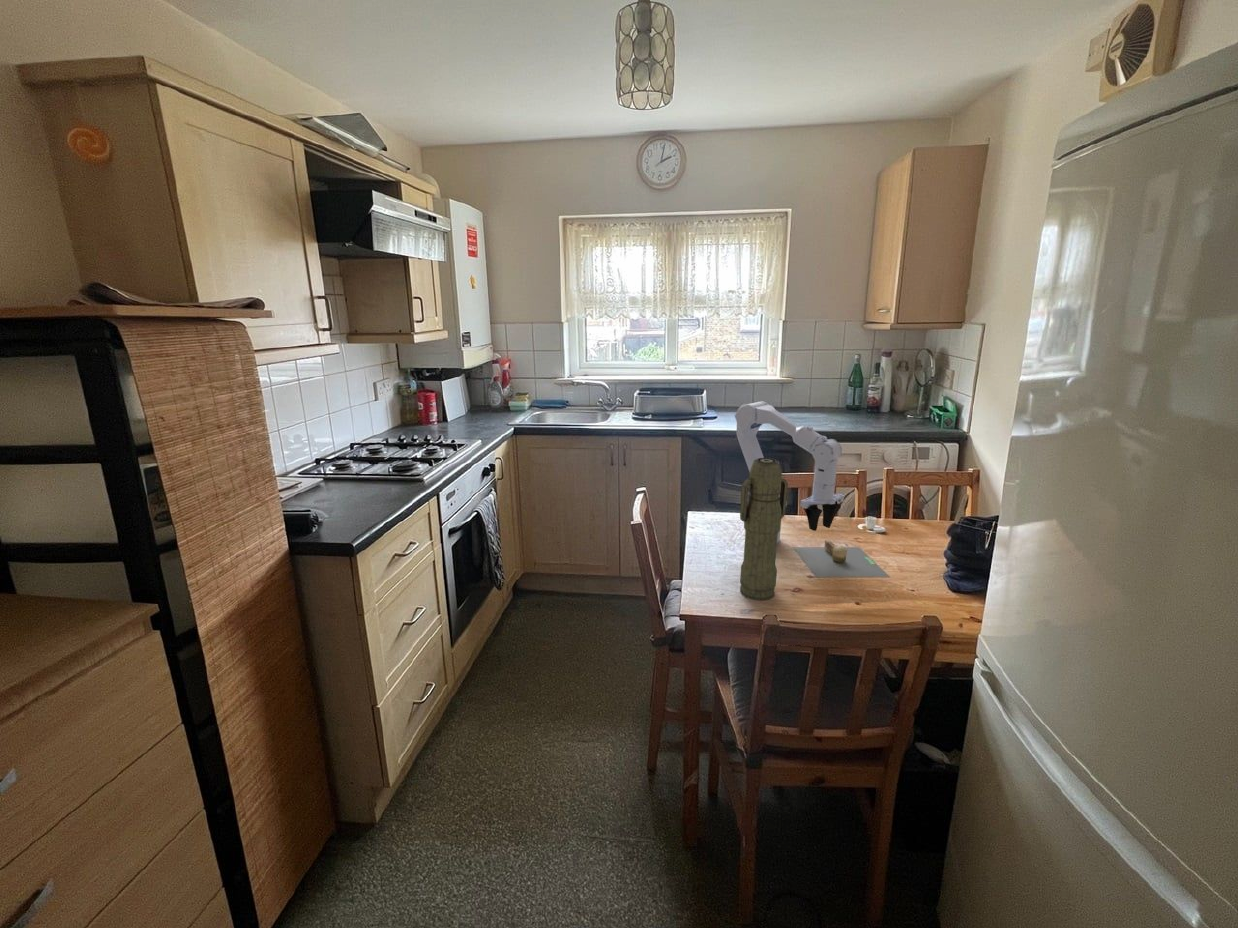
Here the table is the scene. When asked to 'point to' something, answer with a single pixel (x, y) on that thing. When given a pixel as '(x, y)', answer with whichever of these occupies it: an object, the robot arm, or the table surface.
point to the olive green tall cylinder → (761, 527)
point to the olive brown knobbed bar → (835, 551)
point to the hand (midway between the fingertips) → (819, 528)
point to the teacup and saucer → (872, 525)
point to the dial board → (839, 563)
